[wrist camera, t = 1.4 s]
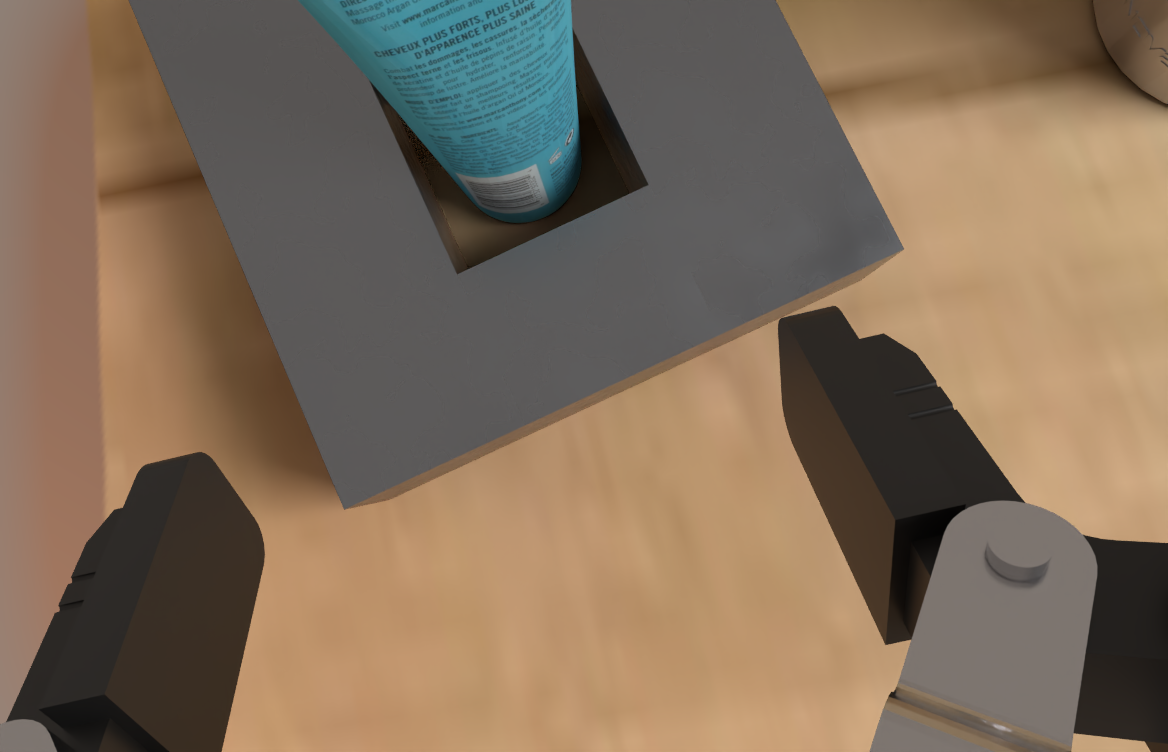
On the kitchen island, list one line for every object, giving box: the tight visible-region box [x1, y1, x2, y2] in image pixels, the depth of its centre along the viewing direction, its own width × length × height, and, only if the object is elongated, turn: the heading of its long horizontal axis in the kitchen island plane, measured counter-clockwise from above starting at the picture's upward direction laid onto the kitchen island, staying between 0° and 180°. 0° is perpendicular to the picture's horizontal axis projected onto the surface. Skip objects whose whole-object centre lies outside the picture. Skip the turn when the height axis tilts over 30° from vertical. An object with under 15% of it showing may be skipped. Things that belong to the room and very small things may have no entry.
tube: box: [298, 0, 582, 223], centre depth 23 cm, size 8×5×19 cm, turn 120°
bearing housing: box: [129, 0, 904, 510], centre depth 30 cm, size 20×20×5 cm
